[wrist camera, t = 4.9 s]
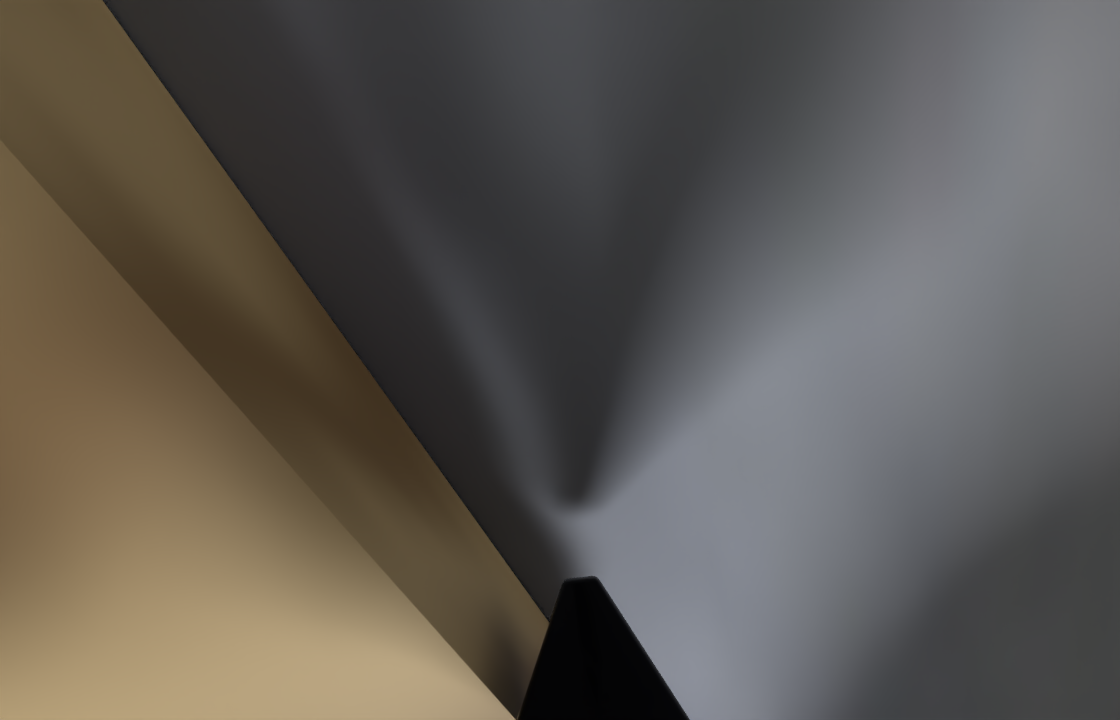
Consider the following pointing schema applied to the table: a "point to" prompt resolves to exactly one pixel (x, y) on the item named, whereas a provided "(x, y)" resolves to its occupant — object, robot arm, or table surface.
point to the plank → (204, 441)
